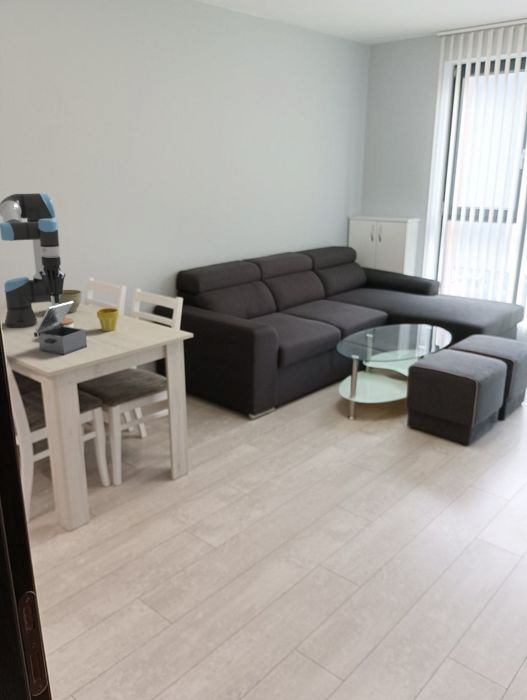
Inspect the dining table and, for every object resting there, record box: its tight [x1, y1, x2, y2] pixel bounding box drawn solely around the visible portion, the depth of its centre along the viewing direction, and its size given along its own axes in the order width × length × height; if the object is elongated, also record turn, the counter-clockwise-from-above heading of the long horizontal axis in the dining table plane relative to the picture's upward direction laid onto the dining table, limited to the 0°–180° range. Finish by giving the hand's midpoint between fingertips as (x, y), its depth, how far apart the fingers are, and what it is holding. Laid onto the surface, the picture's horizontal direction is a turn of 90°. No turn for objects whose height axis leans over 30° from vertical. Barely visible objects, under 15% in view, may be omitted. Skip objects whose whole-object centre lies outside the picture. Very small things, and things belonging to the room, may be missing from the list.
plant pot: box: [96, 307, 120, 332], centre depth 286 cm, size 10×10×10 cm
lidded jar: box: [61, 317, 75, 328], centre depth 274 cm, size 11×11×9 cm
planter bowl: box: [58, 289, 83, 314], centre depth 321 cm, size 16×16×11 cm
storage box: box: [33, 324, 88, 356], centre depth 255 cm, size 15×17×8 cm
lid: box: [35, 301, 73, 333], centre depth 253 cm, size 15×14×3 cm
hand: (55, 310), depth 252 cm, fingers closed
